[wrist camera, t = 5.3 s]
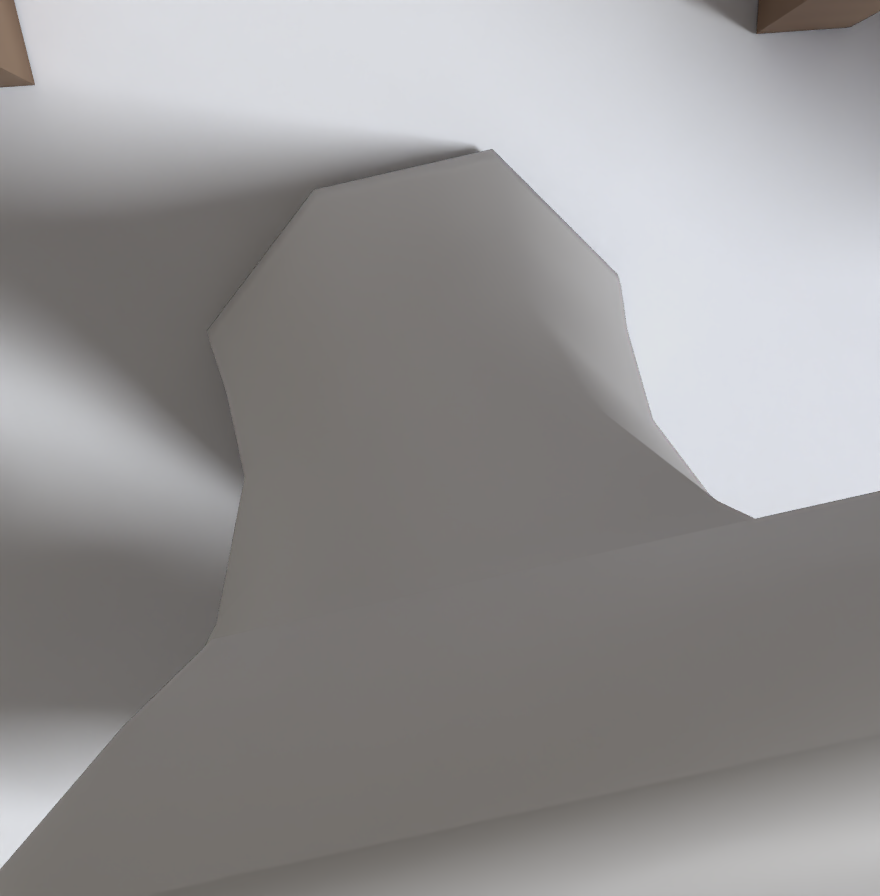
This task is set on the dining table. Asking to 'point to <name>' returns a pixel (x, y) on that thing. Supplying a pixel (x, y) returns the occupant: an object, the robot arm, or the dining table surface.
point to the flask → (484, 603)
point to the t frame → (779, 10)
